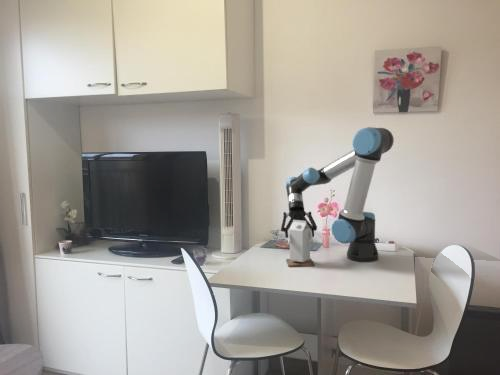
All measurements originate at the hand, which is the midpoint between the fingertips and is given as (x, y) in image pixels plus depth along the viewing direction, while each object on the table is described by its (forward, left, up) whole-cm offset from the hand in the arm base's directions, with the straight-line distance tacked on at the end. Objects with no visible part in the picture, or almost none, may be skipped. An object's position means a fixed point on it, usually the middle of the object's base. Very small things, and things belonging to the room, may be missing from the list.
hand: (300, 242), depth 195 cm
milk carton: (0, -3, -9) cm, 10 cm away
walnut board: (0, -3, -11) cm, 11 cm away
